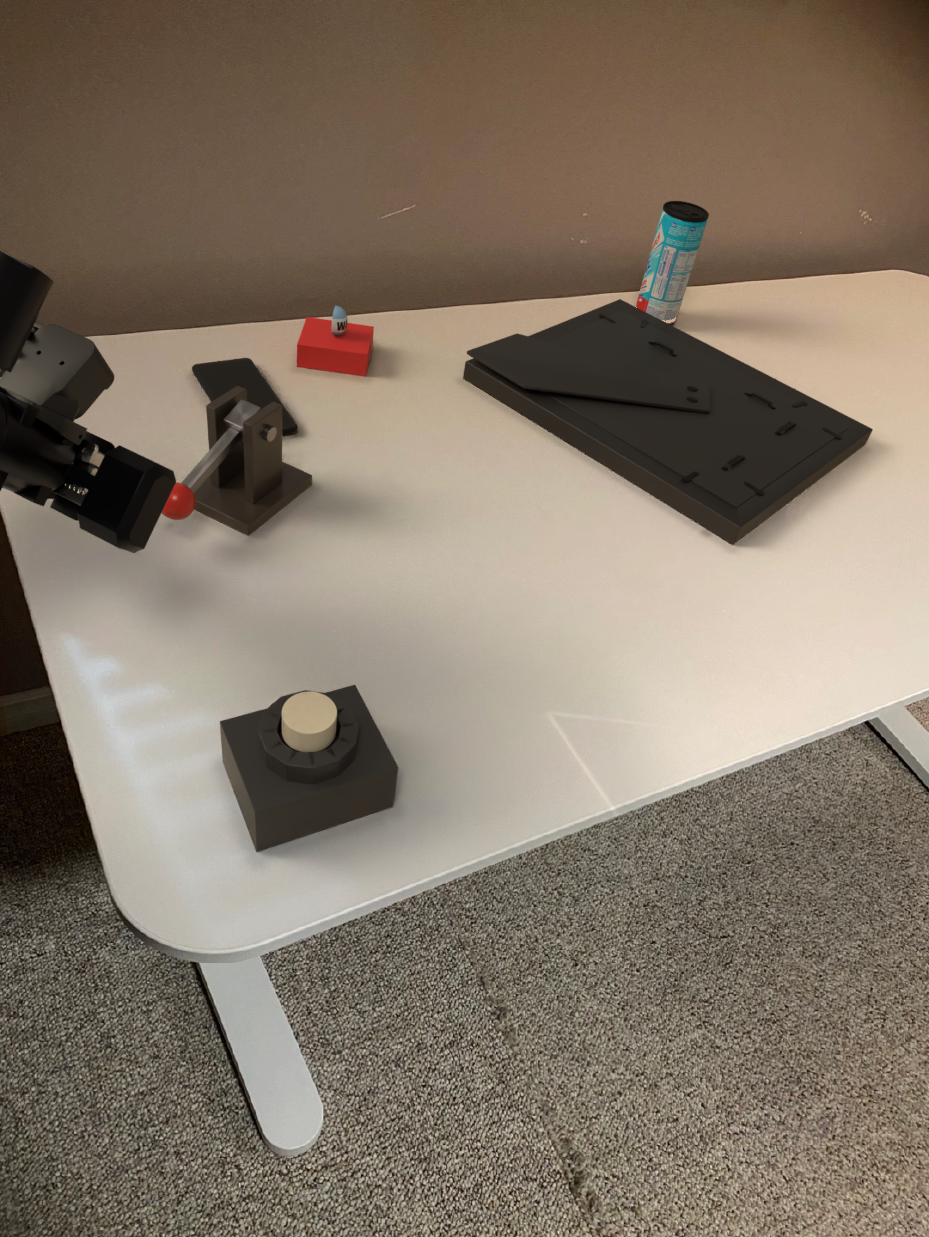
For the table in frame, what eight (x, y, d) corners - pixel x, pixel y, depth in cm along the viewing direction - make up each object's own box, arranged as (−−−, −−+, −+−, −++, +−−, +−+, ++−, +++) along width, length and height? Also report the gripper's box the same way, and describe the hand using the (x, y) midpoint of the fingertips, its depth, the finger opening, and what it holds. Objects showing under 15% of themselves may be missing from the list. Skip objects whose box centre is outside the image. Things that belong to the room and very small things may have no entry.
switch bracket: (248, 536, 85) (245, 446, 78) (179, 502, 87) (170, 412, 80) (312, 484, 92) (314, 398, 85) (246, 454, 94) (243, 368, 87)
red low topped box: (372, 348, 113) (375, 298, 108) (365, 376, 108) (369, 325, 103) (306, 338, 112) (307, 288, 108) (296, 366, 107) (297, 315, 103)
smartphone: (250, 356, 106) (300, 427, 97) (250, 363, 106) (299, 433, 98) (189, 363, 103) (235, 437, 94) (190, 370, 103) (235, 444, 95)
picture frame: (462, 378, 110) (732, 545, 94) (466, 350, 108) (744, 517, 92) (615, 314, 128) (864, 445, 112) (622, 289, 126) (878, 420, 109)
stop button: (292, 759, 61) (292, 739, 59) (274, 718, 63) (274, 699, 62) (343, 743, 62) (345, 724, 61) (324, 705, 64) (325, 685, 63)
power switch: (185, 532, 80) (174, 510, 77) (156, 518, 81) (144, 496, 78) (272, 430, 86) (264, 406, 83) (244, 417, 86) (235, 393, 84)
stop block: (256, 852, 62) (254, 796, 58) (222, 761, 67) (218, 703, 63) (393, 807, 66) (401, 751, 62) (352, 724, 71) (356, 667, 67)
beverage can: (657, 307, 132) (689, 199, 122) (683, 327, 128) (718, 217, 118) (624, 312, 129) (654, 202, 119) (650, 332, 126) (682, 221, 116)
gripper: (142, 362, 55) (260, 439, 70) (-85, 261, 60) (71, 354, 75) (61, 532, 55) (196, 573, 70) (-159, 417, 60) (12, 479, 75)
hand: (118, 489), depth 72 cm, fingers closed
